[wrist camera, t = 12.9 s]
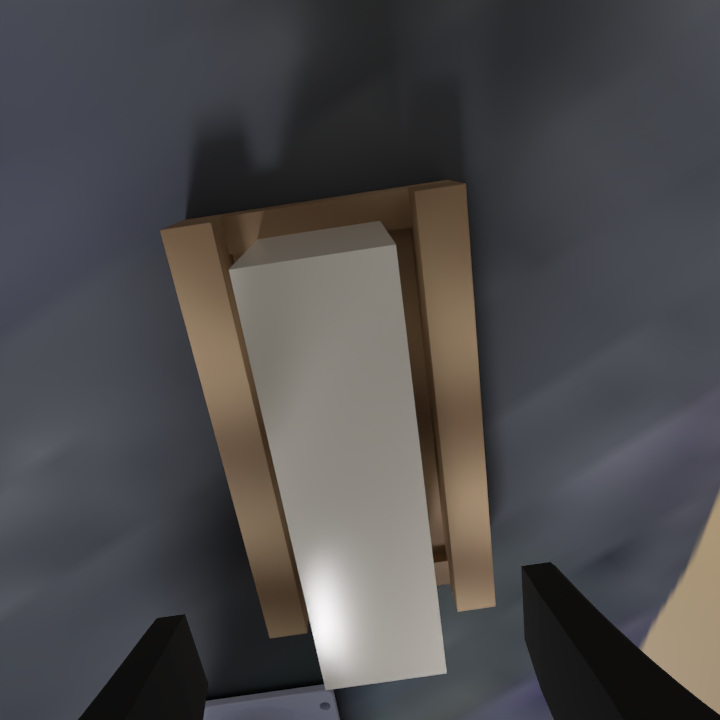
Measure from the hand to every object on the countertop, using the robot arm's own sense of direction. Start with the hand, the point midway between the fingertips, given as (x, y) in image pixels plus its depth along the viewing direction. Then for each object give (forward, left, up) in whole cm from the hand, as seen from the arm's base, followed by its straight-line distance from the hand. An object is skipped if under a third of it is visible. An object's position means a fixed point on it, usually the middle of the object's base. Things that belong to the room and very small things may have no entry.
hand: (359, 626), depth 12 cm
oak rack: (0, 0, -10) cm, 10 cm away
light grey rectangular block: (0, 0, -9) cm, 9 cm away
